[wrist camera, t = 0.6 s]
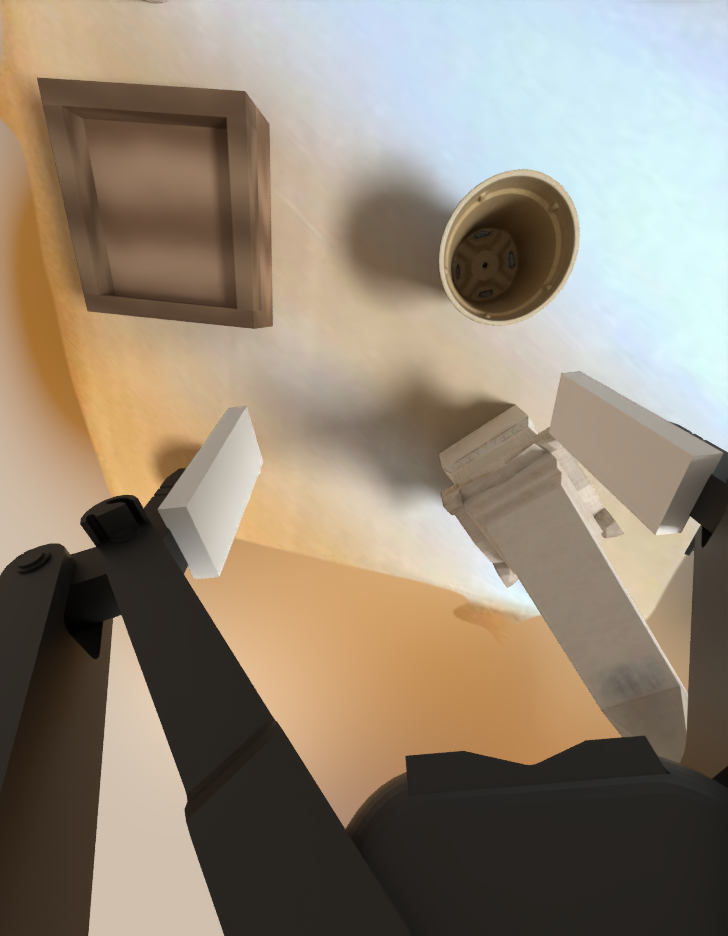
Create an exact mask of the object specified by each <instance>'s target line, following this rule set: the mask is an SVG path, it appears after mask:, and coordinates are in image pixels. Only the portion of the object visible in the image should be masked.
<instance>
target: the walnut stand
mask: <svg viewBox="0 0 728 936" xmlns="http://www.w3.org/2000/svg"><path fill="white" fill-rule="evenodd" d="M37 80H38V85H39V89H40V94H41V99H42V103H43V108H44V112H45V117H46V122H47V126H48V131H49V135H50V140H51V145H52V149H53V154H54V159H55V163H56V168H57V172H58V177H59V182H60V186H61V191H62V195H63V200H64V205H65V209H66V214H67V218H68V223H69V228H70V232H71V237H72V242H73V246H74V251H75V255H76V260H77V265H78V269H79V274H80V278H81V283H82V288H83V292H84V297H85V302H86V306H87V311H90V312H100V313H110V314H119V315H129V316H138V317H148V318H157V319H167V320H176V321H186V322H195V323H205V324H215V325H224V326H234V327H243V328H253V329H255V328H263V327H270V326H273V316H272V256H271V197H270V137H269V123H268V122H267V120H266V119H265V118H264V116H263V115H262V114H261V112H260V111H259V109H258V108H257V107H256V105H255V104H254V103H253V101H252V100H251V98H250V97H249V96H248V94H247V93H246V92H245V91H234V90H218V89H203V88H188V87H172V86H157V85H142V84H126V83H111V82H96V81H80V80H65V79H50V78H37Z"/></svg>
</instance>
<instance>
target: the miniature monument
mask: <svg viewBox="0 0 728 936" xmlns="http://www.w3.org/2000/svg"><path fill="white" fill-rule="evenodd" d="M549 429H550V427H549V428H547V429H546V430H544V431H542V432H541V433H539V432H538V430H537V429H536V427H535V426H534V424H533V423H532V421H531V419H530V418H529V416H528V415H527V414H526V413H524V412H523V411H522V410H521V409H520V408H519V407H518V406H516V405H514V406H512V407H511V408H509V409H507V410H506V411H504V412H503V413H501V414H500V415H498V416H497V417H495V418H493V419H492V420H490V421H489V422H487V423H486V424H484V425H483V426H481V427H480V428H478V429H476V430H475V431H473V432H472V433H470V434H469V435H467V436H466V437H464V438H462V439H461V440H459V441H458V442H456V443H455V444H453V445H452V446H450V447H448V448H447V449H445V450H444V451H442V452H441V453H439V457H440V461H441V466H442V469H443V471H444V472H445V473H446V475H447V476H448V477H449V479H450V480H451V481H452V483H453V484H454V485H452V486H451V487H449V488H447V489H446V490H444V491H442V492H441V496H442V502H443V506H444V508H445V509H446V510H447V511H448V512H449V513H450V514H451V515H454V514H455V516H456V517H457V519H458V520H459V522H460V523H461V525H462V526H463V527H464V529H465V530H466V532H467V533H468V535H469V536H470V537H471V539H472V540H473V542H474V543H475V545H476V546H477V547H478V548H479V549H480V550H481V551H482V552H483V553H484V554H485V556H486V557H487V558H488V559H489V560H490V561H491V562H492V563H493V565H494V567H495V569H496V571H497V573H498V575H499V576H500V578H501V580H502V581H503V583H504V584H505V585H506V587H507V588H508V587H510V586H511V585H513V584H514V583H515V582H516V581H517V580H518V579H519V580H520V582H521V583H522V585H523V586H524V588H525V590H526V591H527V593H528V594H529V596H530V598H531V599H532V601H533V602H534V604H535V605H536V607H537V609H538V610H539V612H540V613H541V615H542V617H543V618H544V620H545V621H546V623H547V625H548V626H549V628H550V629H551V631H552V632H553V634H554V635H555V637H556V639H557V641H558V642H559V644H560V645H561V647H562V649H563V650H564V652H565V653H566V655H567V656H568V658H569V660H570V661H571V663H572V664H573V666H574V668H575V669H576V671H577V672H578V674H579V676H580V677H581V679H582V680H583V682H584V684H585V685H586V687H587V688H588V690H589V692H590V693H591V695H592V696H593V698H594V699H595V701H596V703H597V704H598V706H599V707H600V709H601V711H602V712H603V713H604V714H605V716H606V717H607V718H608V719H609V721H610V722H611V723H612V724H613V726H614V727H615V728H616V730H617V731H618V732H619V734H621V736H622V737H633V736H646V738H647V739H648V741H649V743H650V744H651V746H652V748H653V749H654V751H655V753H656V754H657V756H661V757H664V758H667V759H670V760H673V761H676V762H678V763H680V762H681V759H682V757H683V754H684V750H685V746H686V734H687V711H688V693H687V692H686V690H685V688H684V687H683V685H682V683H681V681H680V680H679V678H678V676H677V675H676V673H675V671H674V670H673V668H672V666H671V665H670V663H669V661H668V659H667V658H666V656H665V654H664V653H663V651H662V649H661V648H660V646H659V644H658V642H657V641H656V639H655V638H654V636H653V634H652V632H651V631H650V629H649V627H648V626H647V624H646V622H645V620H644V619H643V617H642V615H641V614H640V612H639V610H638V609H637V607H636V605H635V603H634V602H633V600H632V598H631V597H630V595H629V593H628V592H627V590H626V588H625V586H624V585H623V583H622V581H621V580H620V578H619V576H618V575H617V573H616V571H615V570H614V568H613V566H612V564H611V563H610V561H609V559H608V558H607V556H606V554H605V553H604V551H603V549H602V547H601V546H600V544H599V543H601V542H603V541H605V540H604V538H611V537H617V536H620V535H623V534H624V533H623V531H622V530H621V528H620V527H619V525H618V524H617V523H616V521H615V520H614V519H613V517H612V516H611V515H610V514H609V512H608V511H607V510H606V509H605V508H604V506H603V504H602V502H601V500H600V498H599V496H598V495H597V493H596V491H595V489H594V487H593V485H592V483H591V482H590V480H589V479H588V477H587V476H586V475H585V473H584V472H583V470H582V469H581V467H580V466H579V464H578V463H577V461H576V460H575V458H574V457H573V456H572V455H571V454H570V453H569V452H568V451H567V450H566V449H565V448H564V447H563V446H562V445H561V444H560V443H559V442H558V441H557V440H556V439H555V438H554V437H553V436H552V435H551V434H550V433H549Z"/></svg>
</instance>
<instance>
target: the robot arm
mask: <svg viewBox="0 0 728 936" xmlns="http://www.w3.org/2000/svg"><path fill="white" fill-rule="evenodd" d="M549 433H550V434H551V435H552V436H553V437H554V438H555V439H556V440H557V441H558V442H559V443H560V444H561V445H562V446H563V447H564V448H565V449H566V450H567V451H568V452H569V453H570V454H571V455H572V456H574V457H575V458H576V459H577V460H578V461H579V462H580V463H581V464H582V465H583V466H584V467H585V468H586V469H587V470H588V471H589V472H590V473H591V474H592V475H593V476H594V477H595V478H596V479H597V480H598V481H600V482H601V483H602V484H603V485H604V486H605V487H606V488H607V489H608V490H609V491H610V492H611V493H612V494H613V495H614V496H615V497H616V498H617V499H618V500H619V501H620V502H621V503H622V504H623V505H624V506H626V507H627V508H628V509H629V510H630V511H631V512H632V513H633V514H634V515H635V516H636V517H637V518H638V519H639V520H640V521H641V522H642V523H643V524H644V525H645V526H646V527H647V528H648V529H649V530H650V531H651V532H653V533H654V534H655V535H661V534H672V533H681V532H682V530H683V528H684V527H685V525H686V523H687V521H688V519H689V517H690V516H691V517H692V518H693V519H694V520H696V521H697V522H698V523H699V524H701V525H700V527H699V529H698V531H697V533H696V534H695V536H694V538H693V540H692V541H691V543H690V545H689V547H688V548H687V550H686V552H685V554H686V555H690V554H691V552H692V551H694V572H693V594H692V618H691V641H690V664H689V688H688V711H687V734H686V746H685V750H684V754H683V757H682V759H681V762H680V763H678V762H676V761H673V760H670V759H667V758H664V757H661V756H657V754H656V753H655V751H654V749H653V748H652V746H651V744H650V743H649V741H648V739H647V738H646V736H633V737H622V738H610V739H598V740H586V741H584V742H582V743H580V744H578V745H575V746H573V747H571V748H569V749H567V750H565V751H563V752H561V753H559V754H557V755H554V756H552V757H550V758H548V759H546V760H544V761H542V762H540V763H537V764H535V765H524V764H520V763H515V762H511V761H506V760H502V759H497V758H493V757H488V756H483V755H479V754H475V753H470V752H466V751H458V752H446V753H434V754H423V755H412V756H406V769H407V772H405V773H403V774H401V775H399V776H397V777H394V778H393V779H391V780H390V781H388V782H387V783H385V784H384V785H382V786H381V787H380V788H378V789H377V790H376V791H375V792H374V793H373V794H372V795H371V796H370V797H369V798H368V799H367V800H366V801H365V802H364V803H363V805H362V806H361V807H360V808H359V809H358V811H357V812H356V814H355V815H354V817H353V818H352V820H351V821H350V823H349V824H348V826H347V828H346V829H345V828H344V827H343V825H342V823H341V822H340V820H339V819H338V817H337V816H336V814H335V812H334V811H333V809H332V808H331V806H330V804H329V803H328V801H327V800H326V798H325V796H324V795H323V793H322V792H321V790H320V788H319V787H318V785H317V784H316V782H315V780H314V779H313V777H312V776H311V774H310V773H309V771H308V769H307V768H306V766H305V765H304V763H303V761H302V760H301V758H300V757H299V755H298V753H297V752H296V750H295V749H294V747H293V745H292V744H291V742H290V741H289V739H288V738H287V736H286V735H285V733H284V731H283V730H282V729H281V727H280V725H279V724H278V723H277V722H276V721H275V719H274V718H273V716H272V715H271V713H270V712H269V710H268V709H267V707H266V705H265V704H264V702H263V701H262V699H261V697H260V696H259V694H258V693H257V691H256V689H255V688H254V686H253V685H252V683H251V681H250V680H249V678H248V677H247V675H246V673H245V672H244V670H243V668H242V667H241V666H240V664H239V662H238V660H237V659H236V657H235V656H234V654H233V652H232V651H231V649H230V648H229V646H228V644H227V643H226V641H225V640H224V638H223V637H222V635H221V633H220V632H219V630H218V628H217V627H216V625H215V624H214V622H213V620H212V619H211V617H210V616H209V614H208V612H207V611H206V609H205V608H204V606H203V604H202V603H201V601H200V600H199V598H198V596H197V595H196V593H195V592H194V590H193V589H192V587H191V585H190V584H189V582H188V580H187V579H186V577H185V576H184V573H185V570H186V568H187V566H188V568H189V570H190V571H191V573H192V575H193V577H194V579H202V578H212V577H220V574H221V571H222V569H223V566H224V563H225V561H226V558H227V556H228V553H229V550H230V548H231V545H232V542H233V540H234V537H235V535H236V532H237V529H238V527H239V524H240V521H241V519H242V516H243V513H244V511H245V508H246V506H247V503H248V500H249V498H250V495H251V492H252V490H253V487H254V484H255V482H256V479H257V477H258V474H259V471H260V469H261V466H262V463H263V459H262V456H261V453H260V449H259V446H258V443H257V439H256V436H255V432H254V429H253V426H252V422H251V419H250V415H249V412H248V409H247V406H244V407H235V408H228V410H227V411H226V413H225V414H224V416H223V417H222V418H221V420H220V421H219V423H218V424H217V425H216V427H215V428H214V430H213V431H212V433H211V434H210V435H209V437H208V438H207V440H206V441H205V443H204V444H203V445H202V447H201V448H200V450H199V451H198V452H197V454H196V455H195V457H194V458H193V460H192V461H191V462H190V464H189V465H188V467H187V468H181V469H178V470H177V471H175V472H174V473H173V474H171V475H170V476H169V477H167V478H166V480H165V481H164V482H163V484H162V485H161V486H160V489H158V490H157V492H156V493H155V494H154V497H152V498H151V500H150V501H149V502H148V504H147V505H146V506H145V507H144V509H143V507H142V505H141V503H140V501H139V500H138V498H136V497H135V496H133V495H122V496H116V497H113V498H110V499H107V500H104V501H102V502H100V503H99V504H97V505H95V506H94V507H92V508H91V509H89V510H88V511H87V512H86V513H85V514H84V515H83V517H82V518H81V522H80V524H81V526H82V527H83V529H84V530H85V531H86V533H87V534H88V535H89V537H90V538H91V540H92V541H93V542H94V544H95V545H96V547H94V548H91V549H88V550H84V551H81V552H78V553H75V554H71V555H70V554H69V552H68V551H67V550H66V548H65V547H64V546H62V545H61V544H47V545H43V546H39V547H37V548H34V549H31V550H28V551H26V552H24V554H21V555H20V556H18V557H17V558H16V559H15V560H13V561H12V562H11V563H10V564H9V565H8V566H6V568H5V569H4V571H3V572H2V573H1V575H0V936H88V932H89V918H90V906H91V893H92V892H91V891H92V880H93V868H94V855H95V842H96V829H97V816H98V804H99V791H100V777H101V764H102V751H103V740H104V727H105V714H106V701H107V688H108V675H109V663H110V650H111V637H112V624H113V618H114V617H116V616H119V615H122V617H123V620H124V623H125V625H126V628H127V631H128V634H129V637H130V639H131V642H132V645H133V647H134V650H135V653H136V656H137V658H138V661H139V664H140V667H141V670H142V672H143V675H144V678H145V681H146V683H147V686H148V689H149V691H150V694H151V697H152V700H153V702H154V705H155V708H156V711H157V713H158V716H159V719H160V722H161V724H162V727H163V730H164V733H165V735H166V738H167V741H168V744H169V746H170V749H171V752H172V754H173V757H174V760H175V763H176V766H177V768H178V771H179V774H180V776H181V779H182V782H183V785H184V788H185V791H186V794H187V801H188V802H187V805H186V807H185V816H186V823H187V826H188V830H189V833H190V836H191V839H192V842H193V845H194V848H195V851H196V854H197V857H198V860H199V863H200V866H201V869H202V872H203V875H204V878H205V880H206V883H207V886H208V889H209V892H210V895H211V898H212V901H213V904H214V907H215V910H216V913H217V915H218V918H219V921H220V924H221V927H222V930H223V933H224V936H728V452H726V451H724V450H723V449H721V448H719V447H717V446H715V445H714V444H712V443H710V442H708V441H707V440H703V438H701V437H699V436H698V435H696V434H692V432H691V431H689V430H687V429H685V428H683V427H682V426H680V425H678V424H675V423H672V422H669V421H667V420H665V419H663V418H661V417H660V416H658V415H656V414H654V413H653V412H651V411H649V410H647V409H646V408H644V407H642V406H640V405H638V404H637V403H635V402H633V401H631V400H630V399H628V398H626V397H624V396H623V395H621V394H619V393H617V392H616V391H614V390H612V389H610V388H609V387H607V386H605V385H603V384H602V383H600V382H598V381H596V380H595V379H593V378H591V377H589V376H587V375H586V374H584V373H582V372H580V371H578V372H569V373H561V378H560V382H559V387H558V392H557V396H556V401H555V406H554V410H553V415H552V420H551V424H550V429H549Z"/></svg>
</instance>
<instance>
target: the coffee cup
mask: <svg viewBox="0 0 728 936" xmlns="http://www.w3.org/2000/svg"><path fill="white" fill-rule="evenodd" d="M145 1H148V2H152V3H161V2H165V1H167V0H145Z"/></svg>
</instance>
